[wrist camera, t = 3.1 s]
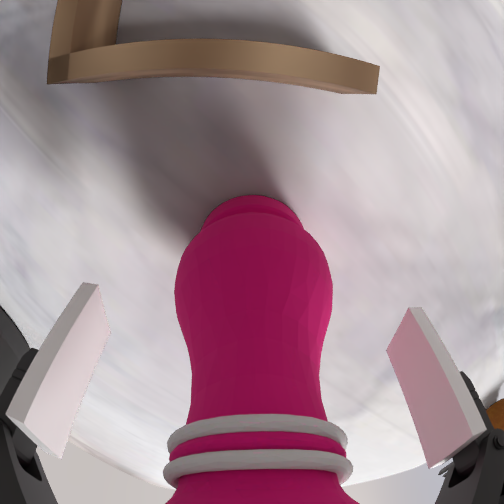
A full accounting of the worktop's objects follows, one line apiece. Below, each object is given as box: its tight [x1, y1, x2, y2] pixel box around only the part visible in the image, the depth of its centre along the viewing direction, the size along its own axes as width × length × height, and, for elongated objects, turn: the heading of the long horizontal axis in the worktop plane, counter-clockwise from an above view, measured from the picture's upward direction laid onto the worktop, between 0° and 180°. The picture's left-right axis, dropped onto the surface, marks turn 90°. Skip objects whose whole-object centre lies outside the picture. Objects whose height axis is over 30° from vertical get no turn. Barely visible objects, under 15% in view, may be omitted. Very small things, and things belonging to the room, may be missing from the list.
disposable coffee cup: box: [486, 399, 504, 431], centre depth 31 cm, size 10×10×12 cm
